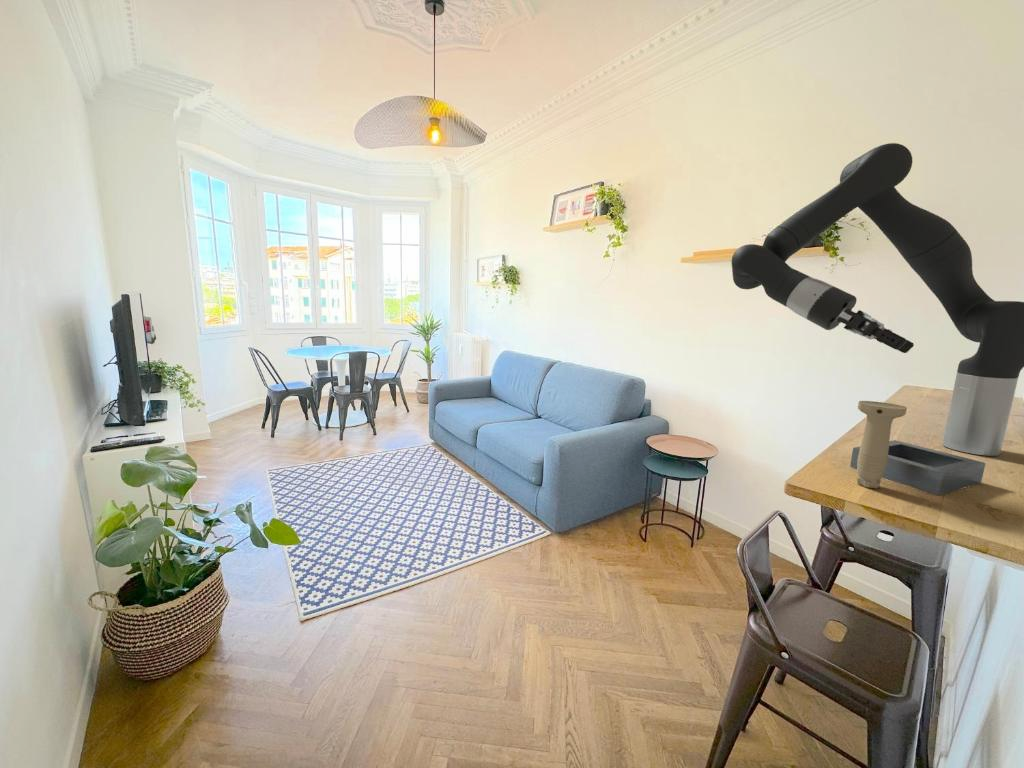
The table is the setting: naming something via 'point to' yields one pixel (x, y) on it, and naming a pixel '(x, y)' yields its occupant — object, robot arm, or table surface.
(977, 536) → the table surface
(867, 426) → the handle
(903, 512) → the table surface
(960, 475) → the housing
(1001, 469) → the table surface
